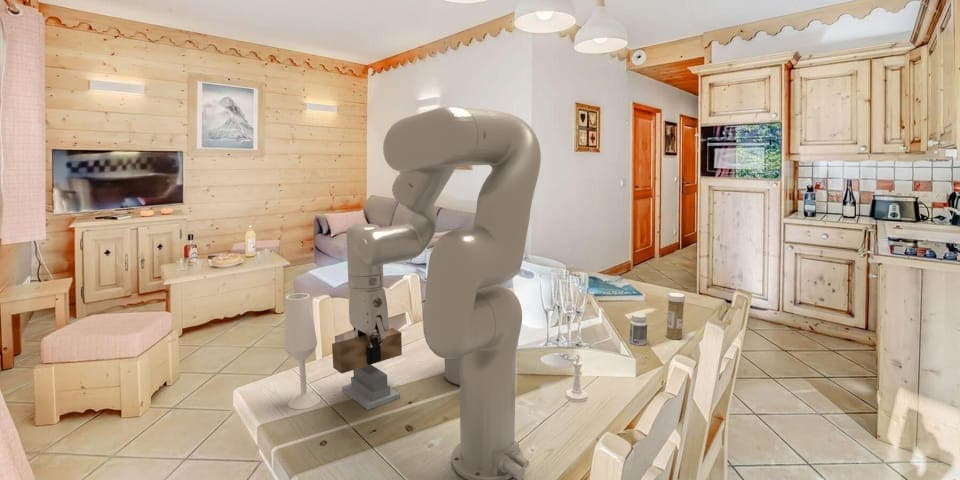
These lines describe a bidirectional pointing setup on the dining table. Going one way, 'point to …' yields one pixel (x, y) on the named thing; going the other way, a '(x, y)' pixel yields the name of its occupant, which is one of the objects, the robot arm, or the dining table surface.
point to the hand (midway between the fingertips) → (368, 358)
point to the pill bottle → (638, 329)
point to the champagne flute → (300, 342)
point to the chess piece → (576, 384)
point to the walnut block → (364, 351)
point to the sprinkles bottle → (675, 315)
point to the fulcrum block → (370, 387)
